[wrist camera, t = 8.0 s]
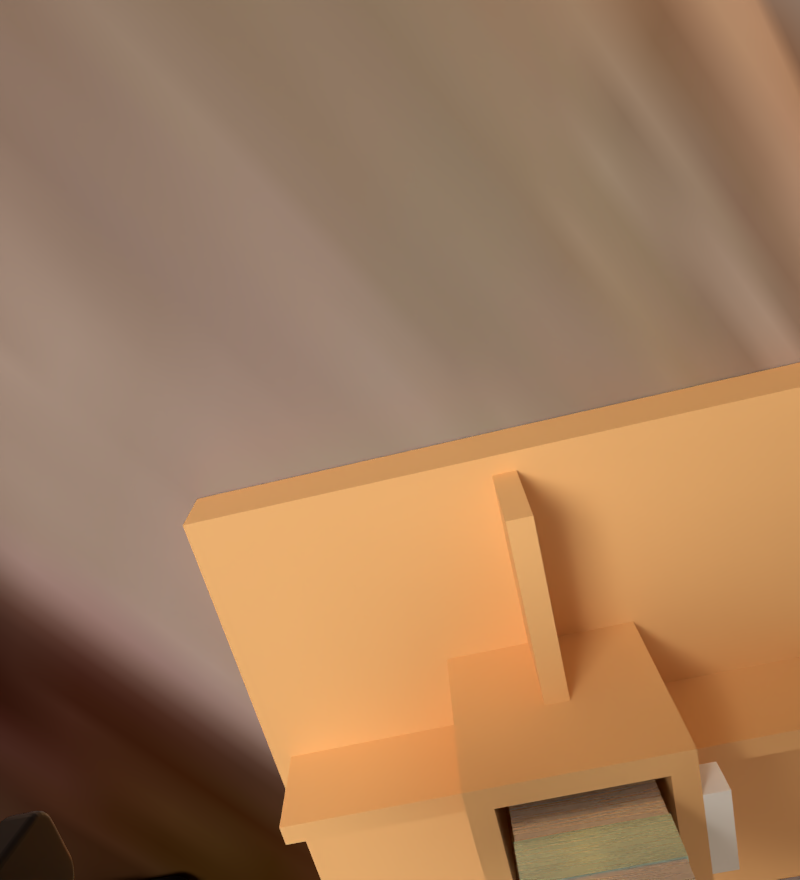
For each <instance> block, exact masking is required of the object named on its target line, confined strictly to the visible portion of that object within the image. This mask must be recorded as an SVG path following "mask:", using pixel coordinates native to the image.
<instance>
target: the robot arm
mask: <svg viewBox="0 0 800 880" xmlns="http://www.w3.org/2000/svg"><path fill="white" fill-rule="evenodd" d="M0 880H74V866H73V861H72V858H71V856H70V854H69V852H68V850H67V848H66V846H65V844H64V842H63V840H62V839H61V837H60V835H59V833H58V831H57V829H56V827H55V825H54V823H53V821H52V819H51V818H50V816H49V815H48V814H46V813H45V812H43V811H33V812H28V813H23V814H17V815H13V816H10V817H8V818H6V819H4V820H3V821H2V822H1V823H0ZM153 880H188V879H186V878H184V877H181V876H169V877H164V878H158V879H153Z"/></svg>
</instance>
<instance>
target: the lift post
mask: <svg viewBox="0 0 800 880" xmlns="http://www.w3.org/2000/svg"><path fill="white" fill-rule="evenodd" d="M509 811H510V817H511V823H512V828H513V834H514V840H515V842H513V843H514V849H515V855H516V861H517V866H518V872H519V878H520V880H696V879H695V877H694V874H693V872H692V869H691V867H690V864H689V859H688V855H687V852H686V850H685V847H684V845H683V843H682V840H681V838H680V835H679V833H678V830H677V828H676V826H675V823H674V821H673V818H672V816H671V814H670V813H668V811H667V808H666V806H665V803H664V801H663V799H662V796H661V794H660V791H659V789H658V786H657V784H656V782H655V779H652V780H647V781H642V782H636V783H631V784H625V785H620V786H615V787H609V788H604V789H599V790H593V791H588V792H583V793H577V794H572V795H567V796H561V797H556V798H551V799H545V800H540V801H534V802H529V803H524V804H518V805H513V806H509Z"/></svg>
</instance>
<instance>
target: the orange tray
mask: <svg viewBox="0 0 800 880" xmlns="http://www.w3.org/2000/svg"><path fill="white" fill-rule="evenodd" d="M183 527H184V530H185V532H186V535H187V537H188V540H189V542H190V545H191V548H192V550H193V553H194V555H195V558H196V560H197V563H198V566H199V568H200V571H201V573H202V576H203V578H204V581H205V583H206V586H207V589H208V591H209V594H210V596H211V599H212V601H213V604H214V607H215V609H216V612H217V614H218V617H219V619H220V622H221V625H222V627H223V630H224V632H225V635H226V637H227V640H228V642H229V645H230V648H231V650H232V653H233V655H234V658H235V660H236V663H237V666H238V668H239V671H240V673H241V676H242V678H243V681H244V684H245V686H246V689H247V691H248V694H249V696H250V699H251V701H252V704H253V707H254V709H255V712H256V714H257V717H258V719H259V722H260V725H261V727H262V730H263V732H264V735H265V737H266V740H267V743H268V745H269V748H270V750H271V753H272V755H273V758H274V760H275V763H276V766H277V768H278V771H279V773H280V776H281V778H282V781H283V784H284V786H285V789H286V791H285V797H284V803H283V809H282V815H281V821H280V827H279V828H280V831H281V833H282V836H283V838H284V841H285V843H286V845H288V844H293V843H299V842H304V841H306V843H307V845H308V848H309V850H310V853H311V855H312V858H313V861H314V863H315V866H316V868H317V871H318V873H319V876H320V878H321V880H520V878H519V872H518V866H517V861H516V855H515V849H514V843H513V842H515V840H514V834H513V828H512V823H511V817H510V811H509V806H513V805H518V804H524V803H529V802H534V801H540V800H545V799H551V798H556V797H561V796H567V795H572V794H577V793H583V792H588V791H593V790H599V789H604V788H609V787H615V786H620V785H625V784H631V783H636V782H642V781H647V780H652V779H655V782H656V784H657V786H658V789H659V791H660V794H661V796H662V799H663V801H664V803H665V806H666V808H667V811H668V813H670V814H671V816H672V818H673V821H674V823H675V826H676V828H677V830H678V833H679V835H680V838H681V840H682V843H683V845H684V847H685V850H686V852H687V855H688V859H689V864H690V867H691V869H692V872H693V874H694V877H695V879H696V880H778V879H783V878H789V877H795V876H800V363H795V364H791V365H786V366H782V367H778V368H773V369H769V370H764V371H760V372H755V373H751V374H747V375H742V376H738V377H733V378H729V379H725V380H720V381H716V382H711V383H707V384H703V385H698V386H694V387H689V388H685V389H680V390H676V391H672V392H667V393H663V394H658V395H654V396H650V397H645V398H641V399H636V400H632V401H628V402H623V403H619V404H614V405H610V406H605V407H601V408H597V409H592V410H588V411H583V412H579V413H575V414H570V415H566V416H561V417H557V418H553V419H548V420H544V421H539V422H535V423H530V424H526V425H522V426H517V427H513V428H508V429H504V430H500V431H495V432H491V433H486V434H482V435H478V436H473V437H469V438H464V439H460V440H455V441H451V442H447V443H442V444H438V445H433V446H429V447H425V448H420V449H416V450H411V451H407V452H403V453H398V454H394V455H389V456H385V457H380V458H376V459H372V460H367V461H363V462H358V463H354V464H350V465H345V466H341V467H336V468H332V469H327V470H323V471H319V472H314V473H310V474H305V475H301V476H297V477H292V478H288V479H283V480H279V481H275V482H270V483H266V484H261V485H257V486H252V487H248V488H244V489H239V490H235V491H230V492H226V493H222V494H217V495H213V496H208V497H204V498H200V499H197V501H196V503H195V504H194V506H193V508H192V510H191V512H190V513H189V515H188V517H187V519H186V521H185V522H184V524H183Z"/></svg>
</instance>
